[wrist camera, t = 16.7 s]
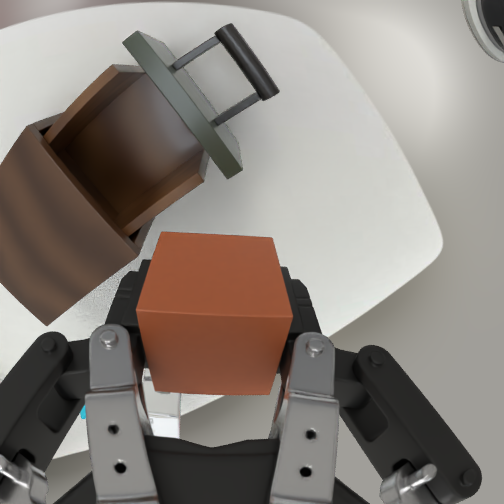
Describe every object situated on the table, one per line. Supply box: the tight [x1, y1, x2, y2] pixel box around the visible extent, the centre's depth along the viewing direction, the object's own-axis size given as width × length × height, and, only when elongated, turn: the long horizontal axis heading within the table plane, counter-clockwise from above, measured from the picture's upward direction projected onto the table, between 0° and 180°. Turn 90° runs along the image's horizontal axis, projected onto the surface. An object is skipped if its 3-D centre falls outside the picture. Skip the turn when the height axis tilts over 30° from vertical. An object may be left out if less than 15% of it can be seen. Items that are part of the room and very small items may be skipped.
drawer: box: [43, 23, 280, 237], centre depth 20 cm, size 18×11×8 cm, turn 123°
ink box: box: [143, 368, 181, 439], centre depth 37 cm, size 9×5×12 cm, turn 170°
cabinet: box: [0, 112, 155, 326], centre depth 23 cm, size 15×13×10 cm
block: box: [136, 232, 293, 395], centre depth 11 cm, size 4×4×4 cm
